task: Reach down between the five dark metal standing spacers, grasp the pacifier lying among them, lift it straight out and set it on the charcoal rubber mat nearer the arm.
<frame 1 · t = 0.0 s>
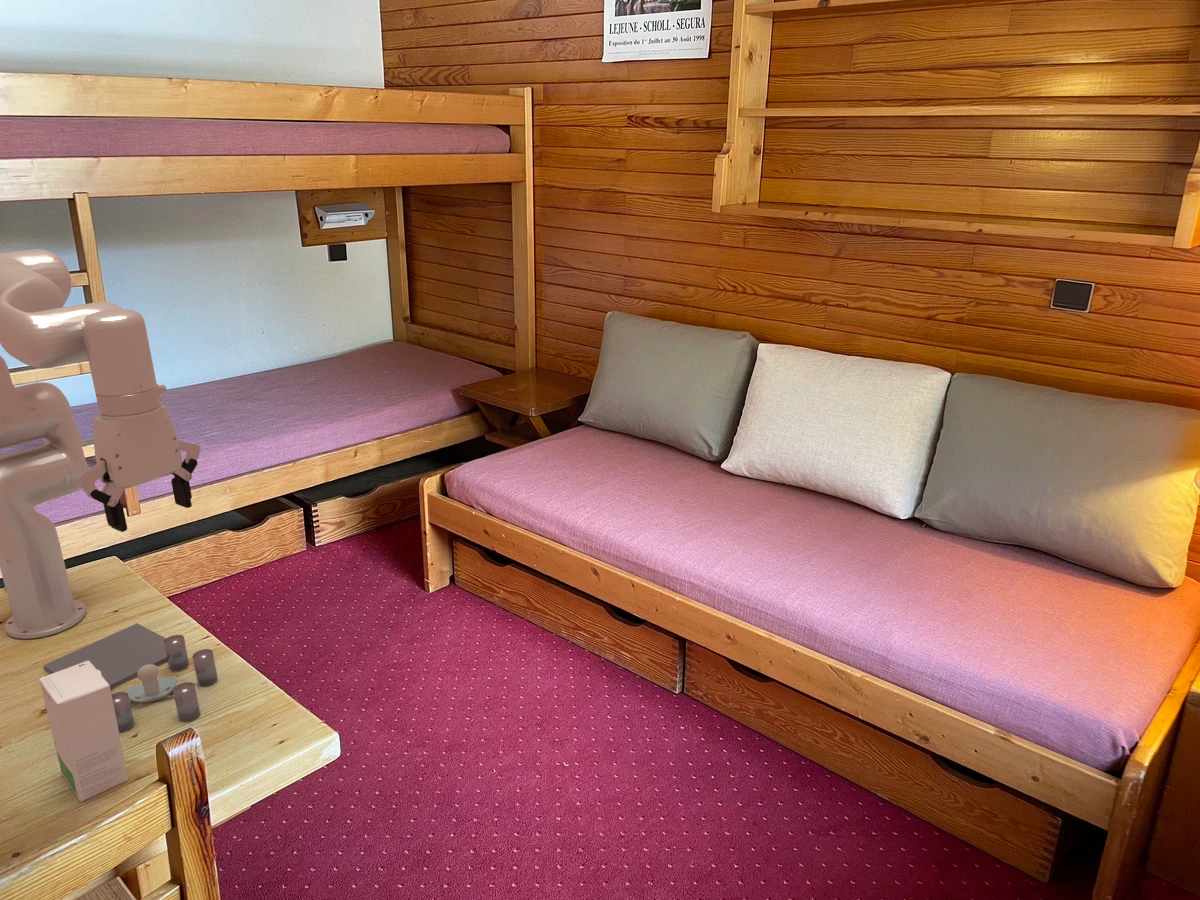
hand: (152, 517, 130), 31 cm above the table, tool pointing down, fingers open, 9 cm apart
pacifier: (153, 696, 143), on the table
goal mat: (116, 660, 152), on the table
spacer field: (152, 694, 142), on the table
skincare box: (97, 778, 124), on the table
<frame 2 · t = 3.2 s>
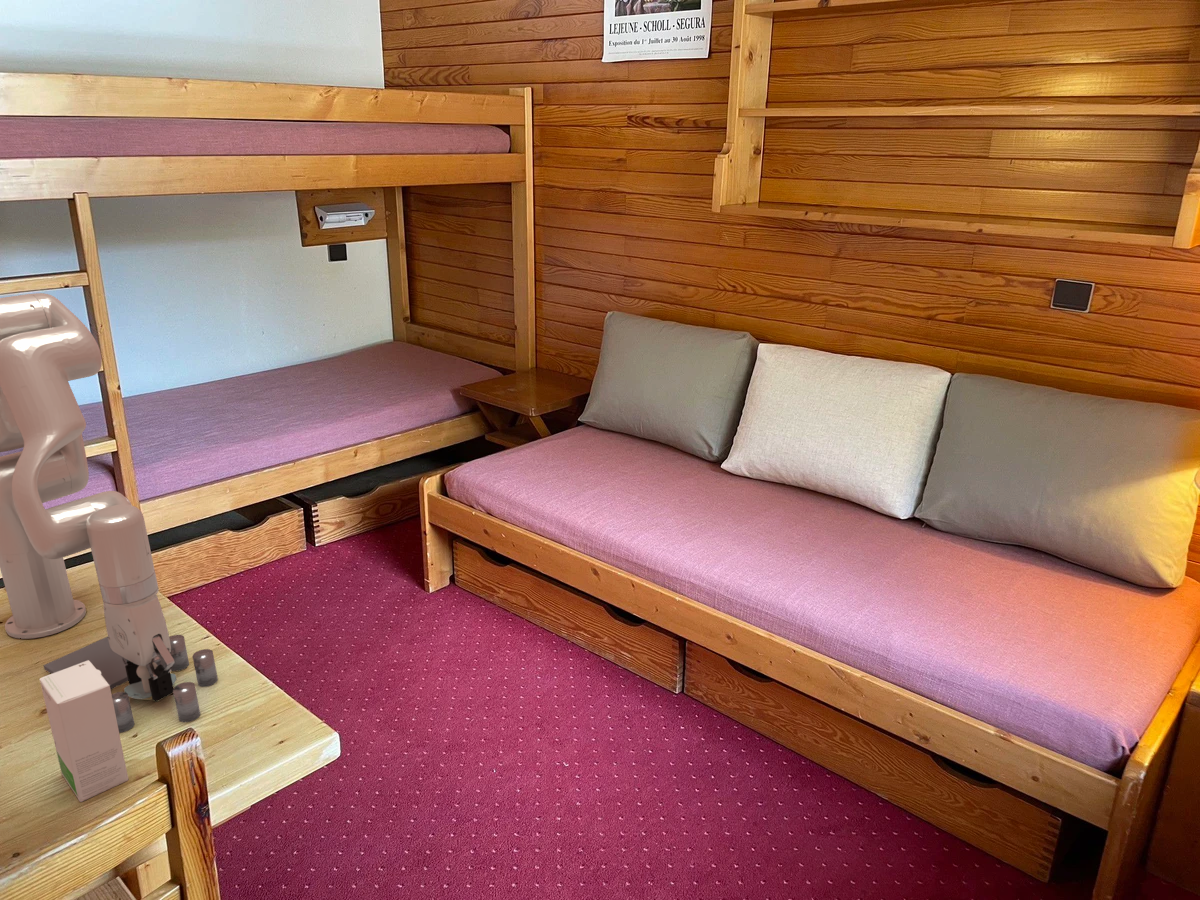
hand: (151, 689, 142), 1 cm above the table, tool pointing down, fingers closed on pacifier, 5 cm apart
pacifier: (152, 693, 143), on the table, touching gripper
everything else where it was.
when the fingers open (3 cm above the table, at t = 10.3 s): pacifier drops 1 cm, resting on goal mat.
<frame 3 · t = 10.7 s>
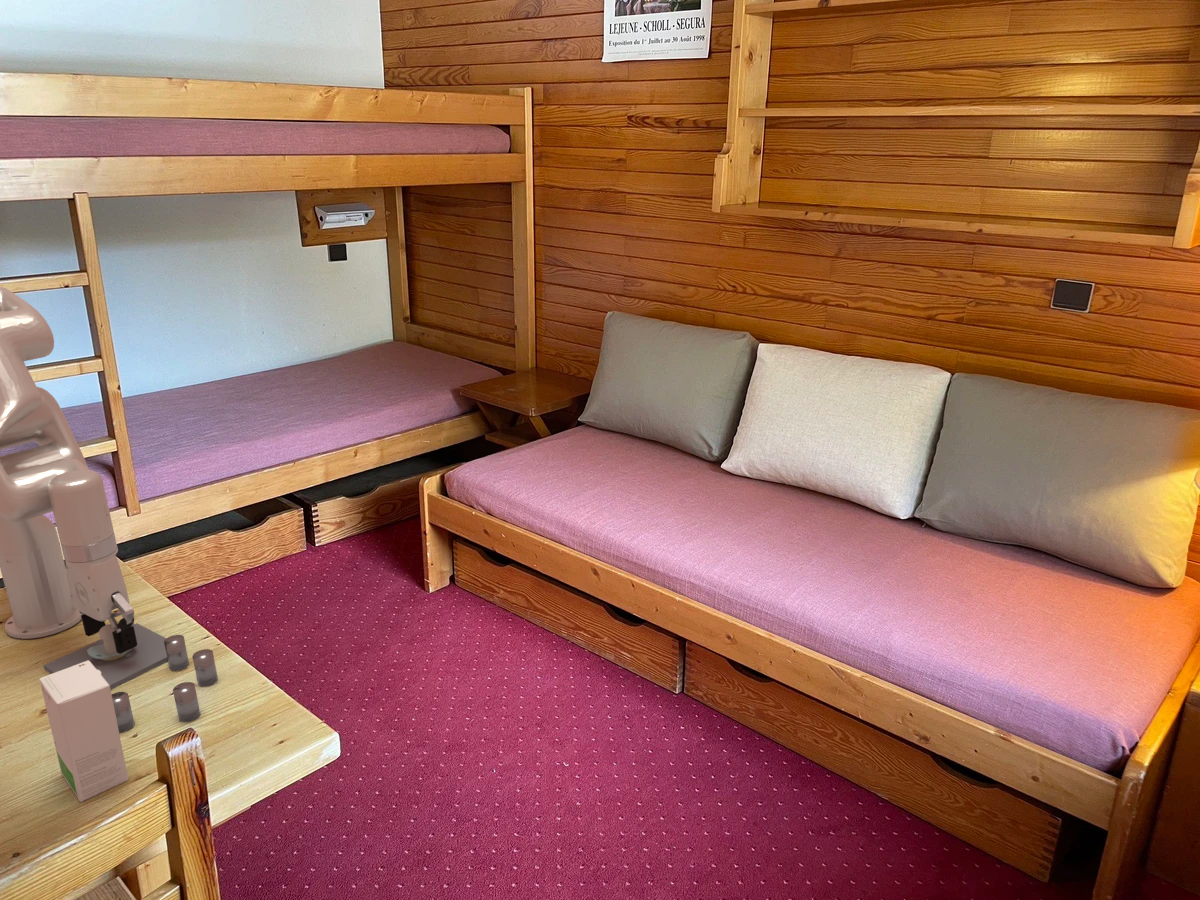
hand: (111, 640, 151), 4 cm above the table, tool pointing down, fingers open, 9 cm apart
pacifier: (114, 655, 152), point 1 cm above the table, touching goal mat
everything else where it was.
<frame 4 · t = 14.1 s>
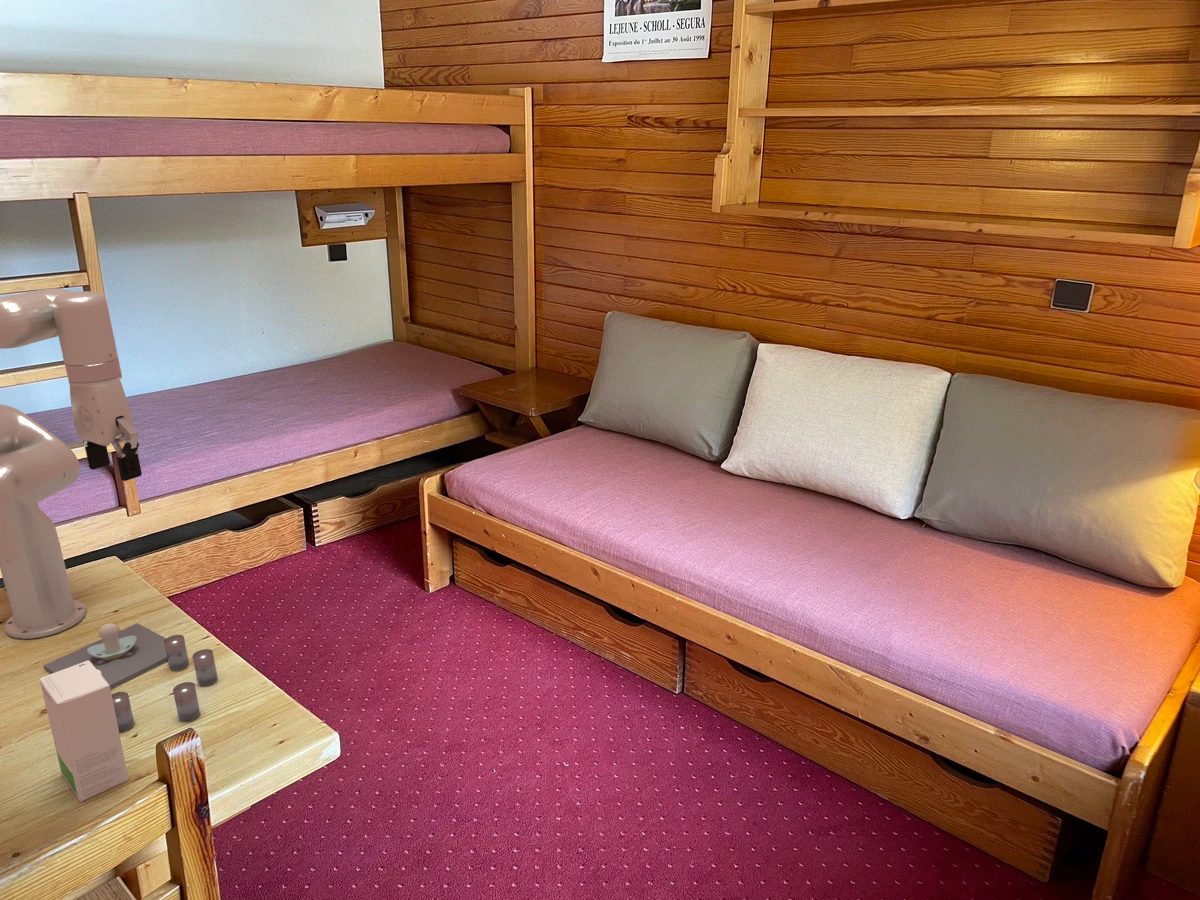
hand: (115, 472, 150), 30 cm above the table, tool pointing down, fingers open, 9 cm apart
nothing on the table moved.
at the end: pacifier inside the target area on the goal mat (1.3 cm from its centre), point 0.6 cm above the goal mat's base; the gripper is holding nothing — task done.
